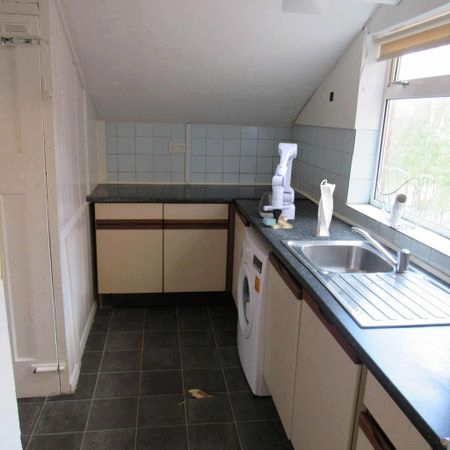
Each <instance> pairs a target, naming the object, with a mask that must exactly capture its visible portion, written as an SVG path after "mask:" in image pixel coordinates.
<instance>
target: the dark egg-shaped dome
mask: <svg viewBox="0 0 450 450" xmlns="http://www.w3.org/2000/svg"><path fill="white" fill-rule="evenodd" d="M272 195H273V192H271V191H266V192H264V193H263V195H262V197H261V199H260V202H259V208H258V212H259V215H260V216H261V217H262V218H263V219H264V218H267V217H272V218H274V216H273V213H272V210H264V206H271V205H272Z"/></svg>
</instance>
